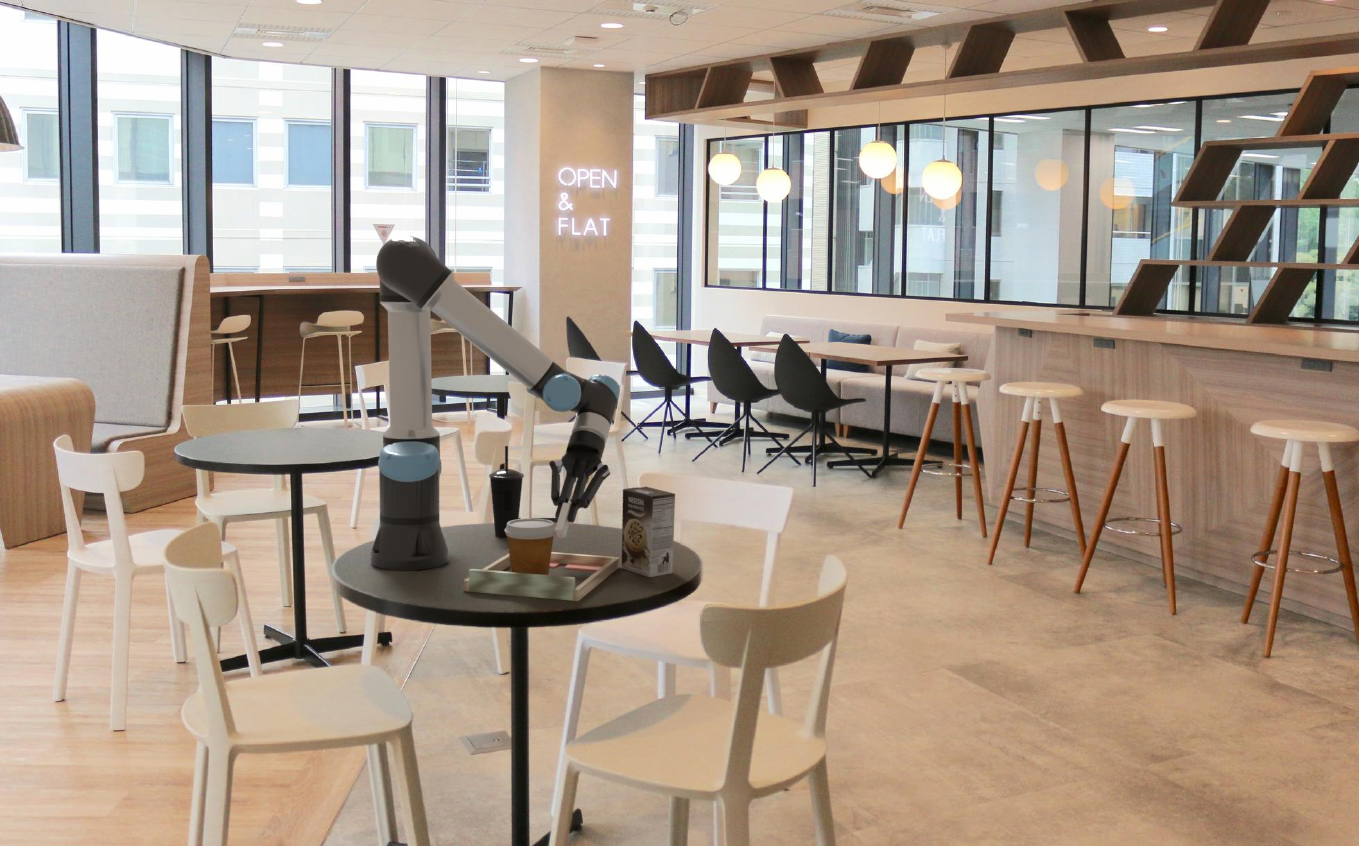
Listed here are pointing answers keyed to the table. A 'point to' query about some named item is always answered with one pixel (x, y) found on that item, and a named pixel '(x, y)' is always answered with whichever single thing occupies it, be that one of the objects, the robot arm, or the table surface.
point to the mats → (577, 566)
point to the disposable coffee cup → (530, 545)
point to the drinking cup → (505, 496)
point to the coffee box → (648, 531)
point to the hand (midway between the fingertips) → (560, 533)
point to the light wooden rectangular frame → (540, 578)
